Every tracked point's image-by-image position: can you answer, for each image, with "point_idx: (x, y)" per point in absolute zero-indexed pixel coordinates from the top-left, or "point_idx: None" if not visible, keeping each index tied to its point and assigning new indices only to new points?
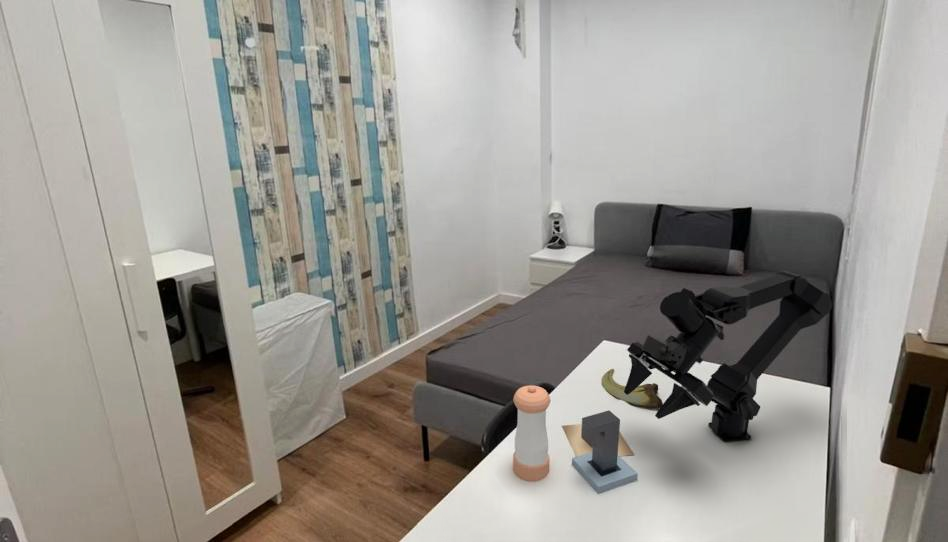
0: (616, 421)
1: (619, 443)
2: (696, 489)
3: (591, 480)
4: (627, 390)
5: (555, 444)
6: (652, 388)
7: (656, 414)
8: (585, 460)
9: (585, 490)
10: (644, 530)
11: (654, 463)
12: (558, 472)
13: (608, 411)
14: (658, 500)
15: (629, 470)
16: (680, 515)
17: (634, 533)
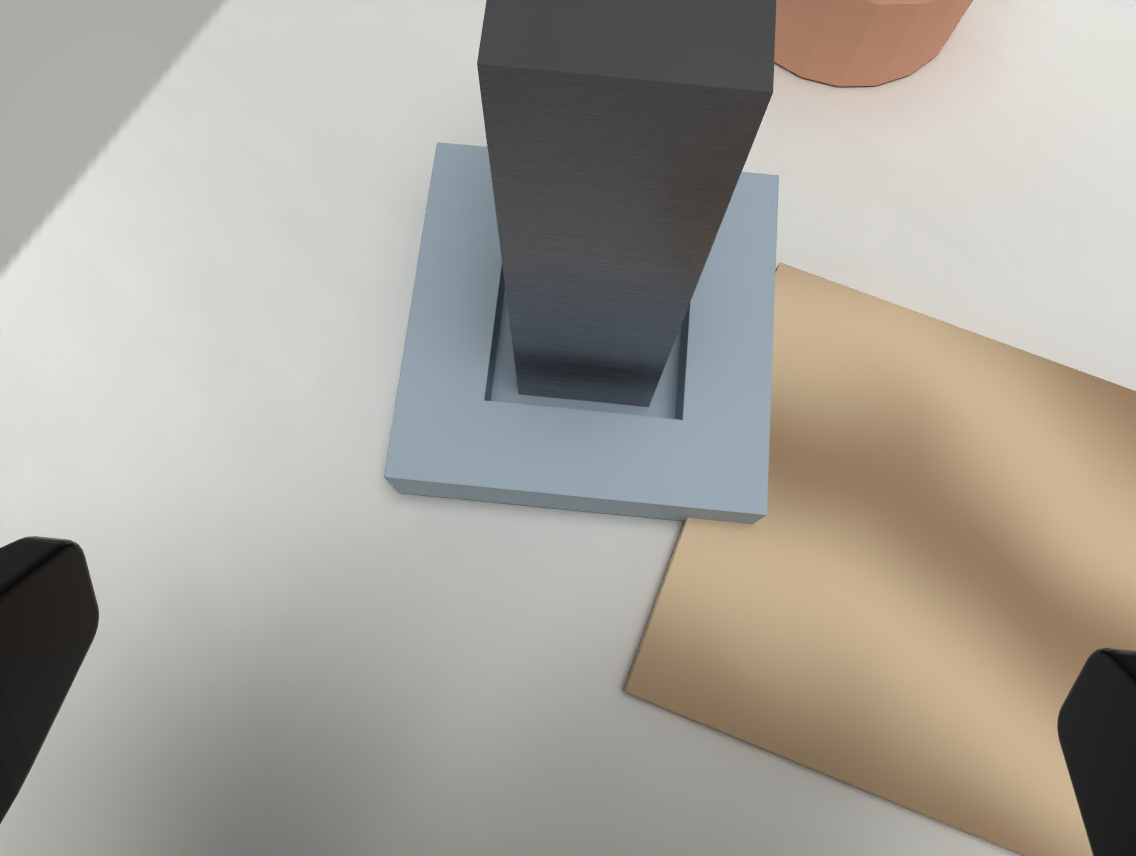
0: (485, 13)
1: (806, 690)
2: (76, 845)
3: None
4: (1131, 718)
5: (1022, 262)
6: None
7: (28, 547)
8: None
9: None
10: (78, 225)
11: (478, 787)
12: None
13: (749, 64)
14: (184, 488)
15: (444, 444)
16: (3, 510)
17: (101, 164)
